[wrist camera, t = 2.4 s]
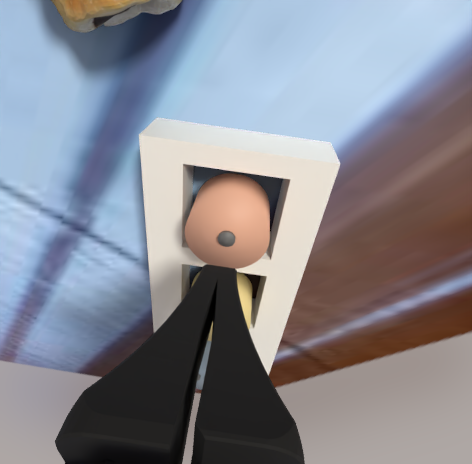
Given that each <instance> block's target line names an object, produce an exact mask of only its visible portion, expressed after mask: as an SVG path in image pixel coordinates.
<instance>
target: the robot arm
mask: <svg viewBox="0 0 472 464" xmlns="http://www.w3.org/2000/svg"><path fill="white" fill-rule="evenodd" d="M212 322H213V327H212V339H211V346H210V352H209V357H208V362H207V367H206V372H205V377H204V382H203V387H202V392H201V398H200V402H199V407H198V412H197V417H196V422H195V431H194V445H193V455H192V460H191V464H305V463H304V454H303V449H302V444H301V440H300V436H299V433H298V429H297V426H296V423H295V421H294V419H293V418H292V416H291V415H290V413H289V411H288V410H287V408H286V406H285V405H284V403H283V402H282V400H281V398H280V396H279V395H278V393H277V391H276V389H275V387H274V386H273V384H272V382H271V380H270V378H269V376H268V374H267V372H266V370H265V368H264V366H263V364H262V362H261V360H260V357H259V355H258V353H257V350H256V348H255V345H254V343H253V340H252V338H251V335H250V332H249V329H248V326H247V323H246V320H245V317H244V313H243V309H242V305H241V301H240V296H239V291H238V284H237V270H236V269H235V268H229V267H222V266H215V265H208V264H206V265H204V266H203V268H202V270H201V272H200V274H199V276H198V278H197V279H196V281H195V283H194V284H193V286H192V287H191V289H190V290H189V292H188V293H187V294H186V296H185V297H184V299H183V300H182V301H181V303H180V304H179V305H178V306H177V308H176V309H175V310H174V311H173V313H172V314H171V315H170V316H169V317H168V319H167V320H166V321H165V322H164V323H163V324H162V325H161V326H160V327H159V329H158V330H157V331H156V332H155V333H154V334H153V335H152V336H151V337H150V338H149V339H148V340H147V341H146V342H144V343H143V344H142V345H141V346H140V347H139V348H138V349H137V350H136V351H135V352H134V353H132V354H131V355H130V356H129V357H128V358H126V359H125V360H124V361H123V362H122V363H120V364H119V365H118V366H117V367H116V368H114V369H113V370H112V371H111V372H109V373H108V374H107V375H105V376H104V377H102V378H101V379H100V380H98V381H97V382H96V383H94V384H93V385H92V386H90V387H89V388H87V389H86V390H85V391H84V392H83V393H82V395H81V396H80V397H79V399H78V400H77V402H76V403H75V405H74V406H73V408H72V409H71V411H70V413H69V414H68V416H67V417H66V420H65V422H64V424H63V426H62V428H61V430H60V432H59V434H58V436H57V438H56V440H55V443H56V447H57V449H58V451H59V453H60V454H61V456H62V458H63V459H64V461H65V464H182V461H183V455H184V449H185V444H186V437H187V432H188V427H189V421H190V416H191V410H192V405H193V400H194V394H195V389H196V383H197V378H198V374H199V370H200V366H201V362H202V359H203V355H204V352H205V348H206V344H207V341H208V337H209V333H210V330H211V326H212Z"/></svg>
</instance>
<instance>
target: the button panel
mask: <svg viewBox="0 0 472 464" xmlns="http://www.w3.org/2000/svg"><path fill="white" fill-rule="evenodd" d="M139 142H140V155H141V168H142V182H143V195H144V208H145V222H146V235H147V248H148V262H149V275H150V289H151V302H152V315H153V329H154V333H155V332H156V331H157V330H158V329H159V327H160V326H161V325H162V324H163V323H164V322H165V321H166V320H167V319H168V317H169V316H170V315H171V314H172V313H173V311H174V310H175V309H176V308H177V306H178V305H179V304H180V303H181V301H182V300H183V299H184V297H185V296H186V294H187V293H188V292H189V290H190V289H189V287H190V265H193V266H200V267H203V266H204V265H206V264H207V263H205V262H203V261H202V260H200V259H199V258H198V257H197V256H196V255H195V254H194V253H193V252H192V251H191V250H190V248H189V246H188V244H187V242H186V238H185V226H186V222H187V220H188V217H189V215H190V212H191V209H192V200H193V171H194V166H201V167H208V168H215V169H222V170H229V171H235V172H242V173H249V174H256V175H263V176H270V177H277V178H283V180H282V185H281V189H280V194H279V198H278V202H277V207H276V211H275V216H274V220H273V224H272V229H271V232H270V241H269V246H268V248H267V250H266V252H265V254H264V255H263V256H262V257H261V258H260V259H259V260H258V261H257V262H255V263H253V264H252V265H249V266H247V267H244V268H239V269H236V270H237V272H241V273H248V274H255V275H261V277H260V282H259V286H258V290H257V295H256V299H254V298H252V308H251V324H250V329H249V332H250V335H251V338H252V340H253V343H254V345H255V348H256V350H257V353H258V355H259V357H260V360H261V362H262V364H263V366H264V368H265V370H266V372H267V374H268V375H269V372H270V370H271V367H272V364H273V361H274V358H275V355H276V352H277V349H278V346H279V343H280V340H281V337H282V334H283V331H284V328H285V325H286V322H287V320H288V317H289V314H290V311H291V308H292V305H293V302H294V299H295V296H296V293H297V290H298V287H299V284H300V281H301V278H302V275H303V272H304V270H305V267H306V264H307V261H308V258H309V255H310V252H311V249H312V246H313V243H314V240H315V237H316V234H317V231H318V228H319V225H320V222H321V220H322V217H323V214H324V211H325V208H326V205H327V202H328V199H329V196H330V193H331V190H332V187H333V184H334V181H335V178H336V175H337V172H338V170H339V167H340V162H339V160H338V158H337V155H336V153H335V151H334V149H333V147H332V144H331V142H324V141H317V140H310V139H303V138H296V137H289V136H283V135H276V134H269V133H262V132H255V131H248V130H241V129H234V128H227V127H220V126H213V125H207V124H200V123H193V122H186V121H179V120H172V119H165V118H158V117H157V118H156V119H155V120H154V121H153V122H152V123H151V124H150V125H149V126H148V127H147V128H146V129H144V130H143V131H142V132H141V133H140V134H139ZM208 265H209V264H208Z"/></svg>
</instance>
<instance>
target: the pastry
mask: <svg viewBox="0 0 472 464" xmlns="http://www.w3.org/2000/svg"><path fill="white" fill-rule="evenodd" d="M51 1H52V2H53V3H54V5H55V6H56V8H57V10H58V12H59V14H60V15H61V16H62V18H63V21H64V23H65V24H66V25H67V26H68V27H69V28H70V29H71V30H73V31H76V32H82V33H86V32H90V31H93V30H95V29H96V28H98V27H100V26H101V25H105V26H115V25H118V24H122V23H124V22H125V21H127V20H128V19H132V18H134V17H135V16H137V15H139V14H140V13H142V12H147V13H150V14H162V13H164V12H166V11H169V10H173V9H174V8H176V7H177V6H178V5H179V4H180V2H181V1H182V0H51Z"/></svg>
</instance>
